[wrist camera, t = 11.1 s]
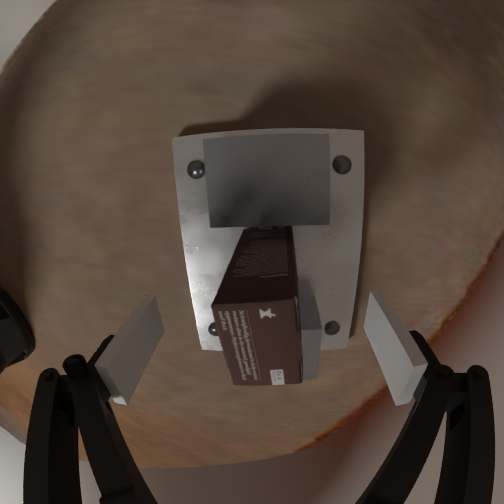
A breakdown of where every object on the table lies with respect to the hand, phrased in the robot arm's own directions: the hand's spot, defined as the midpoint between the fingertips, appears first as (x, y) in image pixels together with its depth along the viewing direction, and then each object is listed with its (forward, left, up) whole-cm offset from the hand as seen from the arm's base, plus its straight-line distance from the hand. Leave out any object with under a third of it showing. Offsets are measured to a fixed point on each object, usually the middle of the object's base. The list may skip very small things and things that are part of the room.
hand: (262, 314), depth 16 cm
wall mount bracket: (0, 0, -10) cm, 10 cm away
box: (0, 0, -9) cm, 9 cm away
